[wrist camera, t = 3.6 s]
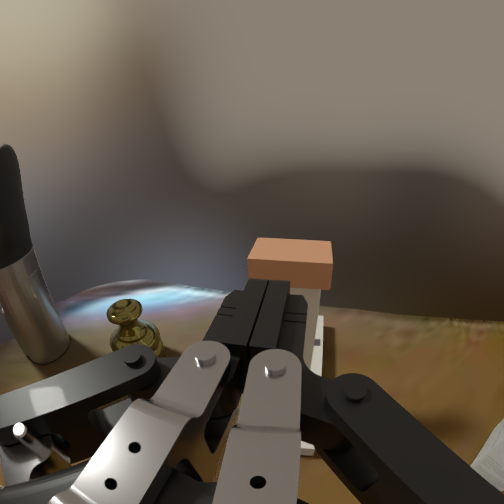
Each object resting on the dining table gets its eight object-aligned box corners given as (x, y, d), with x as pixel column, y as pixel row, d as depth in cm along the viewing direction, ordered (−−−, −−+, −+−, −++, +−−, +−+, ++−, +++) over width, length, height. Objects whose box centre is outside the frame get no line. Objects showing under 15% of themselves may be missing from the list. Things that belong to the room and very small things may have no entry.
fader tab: (255, 408, 26) (247, 258, 18) (262, 383, 29) (257, 237, 22) (308, 414, 25) (332, 263, 17) (310, 388, 28) (330, 241, 20)
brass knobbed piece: (128, 340, 39) (108, 287, 35) (171, 342, 39) (155, 287, 35) (112, 373, 32) (86, 319, 28) (160, 379, 32) (138, 322, 28)
